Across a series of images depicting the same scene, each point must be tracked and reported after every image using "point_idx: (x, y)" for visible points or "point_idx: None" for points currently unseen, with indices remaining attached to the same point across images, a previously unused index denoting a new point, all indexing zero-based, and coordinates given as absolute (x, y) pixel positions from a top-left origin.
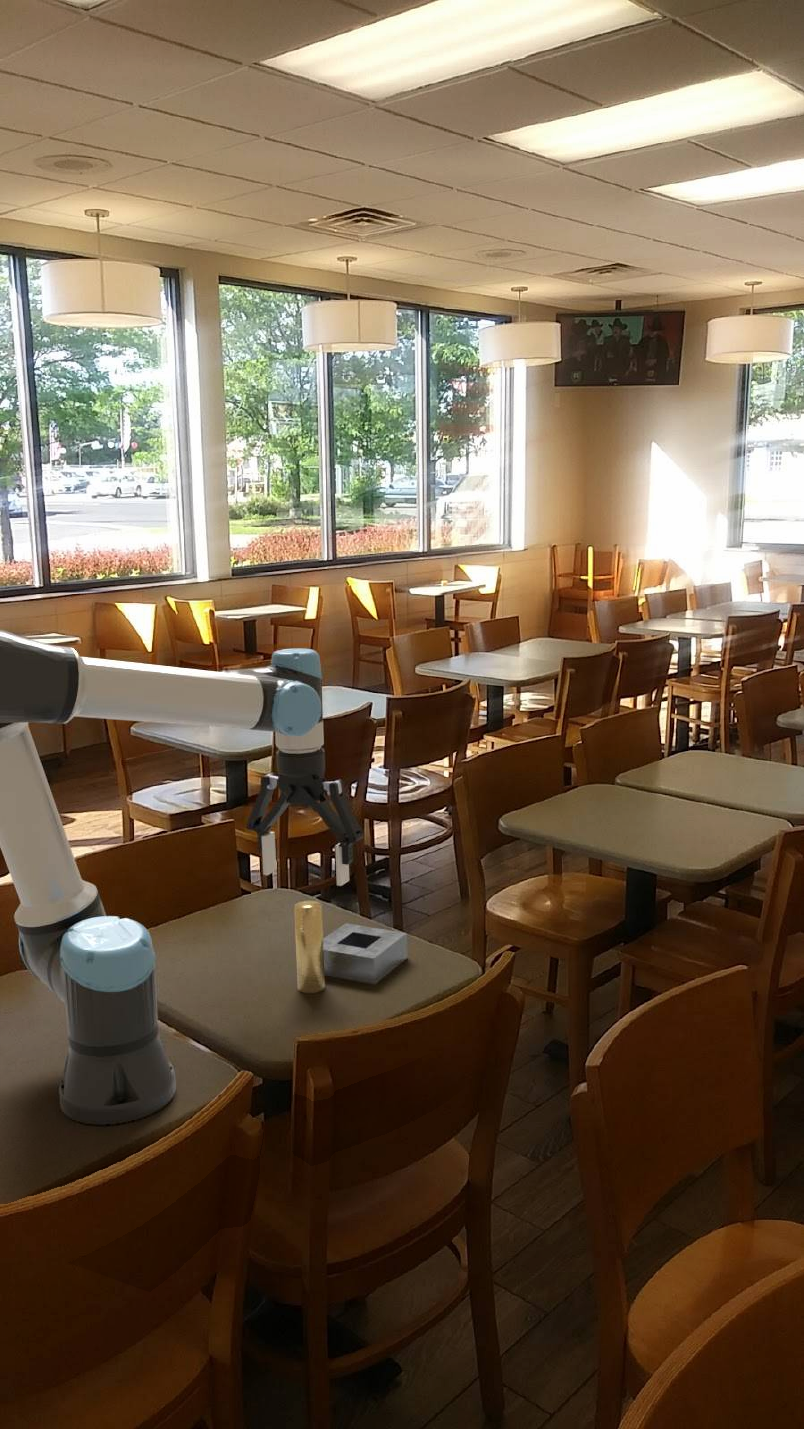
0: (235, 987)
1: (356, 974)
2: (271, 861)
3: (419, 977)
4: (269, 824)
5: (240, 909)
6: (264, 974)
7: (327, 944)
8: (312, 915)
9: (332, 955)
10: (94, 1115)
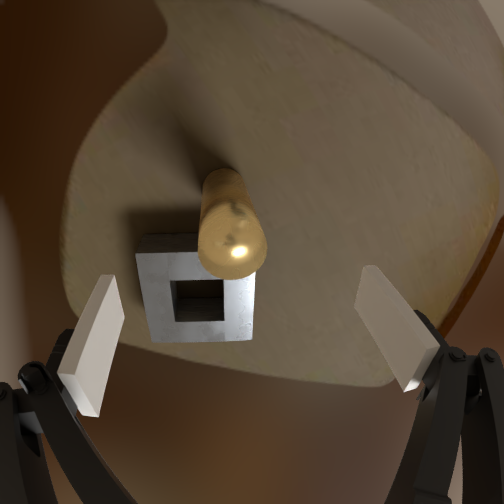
0: (333, 149)
1: (171, 238)
2: (372, 308)
3: None
4: (433, 396)
5: None
6: (315, 203)
7: None
8: (205, 223)
9: None
10: None
